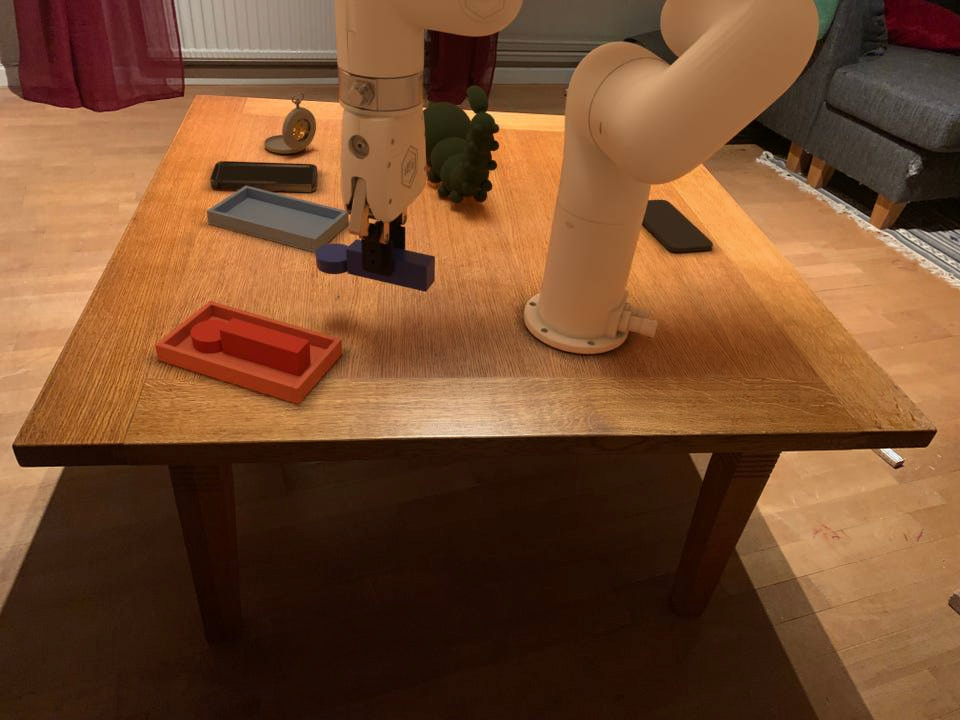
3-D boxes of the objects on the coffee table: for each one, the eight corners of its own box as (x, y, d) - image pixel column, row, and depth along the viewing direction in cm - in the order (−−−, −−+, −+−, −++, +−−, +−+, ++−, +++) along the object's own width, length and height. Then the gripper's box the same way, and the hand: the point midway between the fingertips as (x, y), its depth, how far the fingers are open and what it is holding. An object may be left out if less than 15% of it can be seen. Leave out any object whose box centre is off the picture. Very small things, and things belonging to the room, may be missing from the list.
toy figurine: (503, 226, 111) (452, 147, 127) (524, 104, 98) (464, 34, 115) (443, 231, 107) (399, 150, 124) (457, 106, 95) (406, 34, 112)
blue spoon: (437, 277, 78) (438, 252, 76) (423, 296, 75) (423, 270, 73) (327, 252, 81) (325, 227, 79) (309, 269, 78) (307, 244, 76)
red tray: (342, 353, 79) (342, 338, 78) (298, 404, 72) (297, 389, 71) (212, 315, 83) (209, 300, 82) (157, 360, 76) (154, 344, 74)
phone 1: (216, 160, 112) (317, 164, 115) (217, 167, 113) (317, 170, 116) (209, 182, 106) (315, 185, 109) (210, 189, 107) (315, 192, 109)
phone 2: (671, 248, 104) (625, 201, 116) (670, 253, 105) (624, 205, 116) (716, 245, 107) (666, 199, 118) (714, 250, 107) (665, 203, 118)
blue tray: (348, 224, 103) (348, 211, 102) (316, 253, 96) (315, 239, 95) (247, 198, 106) (245, 185, 105) (208, 224, 99) (206, 210, 98)
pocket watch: (270, 138, 124) (265, 78, 118) (320, 144, 125) (318, 83, 119) (257, 157, 118) (251, 94, 112) (310, 162, 118) (307, 100, 112)
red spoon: (314, 359, 77) (313, 336, 76) (295, 381, 74) (293, 357, 73) (207, 327, 80) (204, 304, 78) (184, 346, 77) (180, 323, 75)
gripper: (381, 122, 59) (384, 313, 70) (452, 70, 71) (445, 239, 82) (297, 106, 61) (314, 295, 72) (381, 57, 73) (384, 225, 84)
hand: (384, 264), depth 77 cm, fingers closed on blue spoon, 2 cm apart
